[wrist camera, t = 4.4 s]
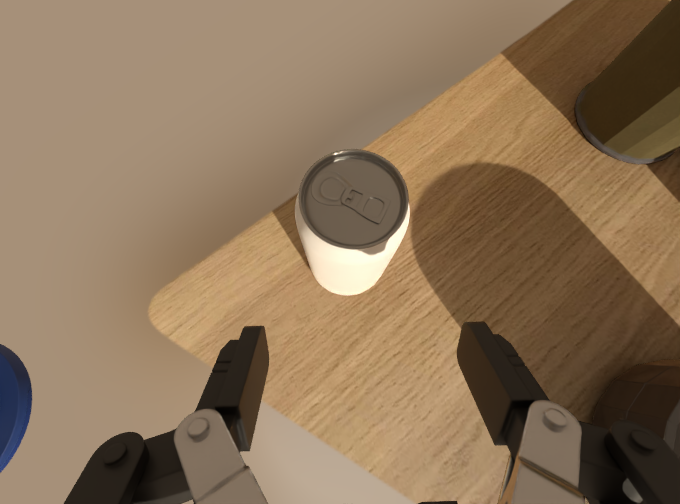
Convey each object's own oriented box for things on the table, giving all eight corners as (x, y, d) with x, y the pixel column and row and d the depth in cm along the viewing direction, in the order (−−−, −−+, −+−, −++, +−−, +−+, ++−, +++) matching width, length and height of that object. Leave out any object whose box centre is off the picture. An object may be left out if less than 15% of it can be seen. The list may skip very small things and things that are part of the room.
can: (330, 213, 29) (325, 124, 17) (395, 243, 28) (436, 171, 17) (296, 276, 27) (266, 222, 16) (364, 309, 26) (386, 280, 15)
